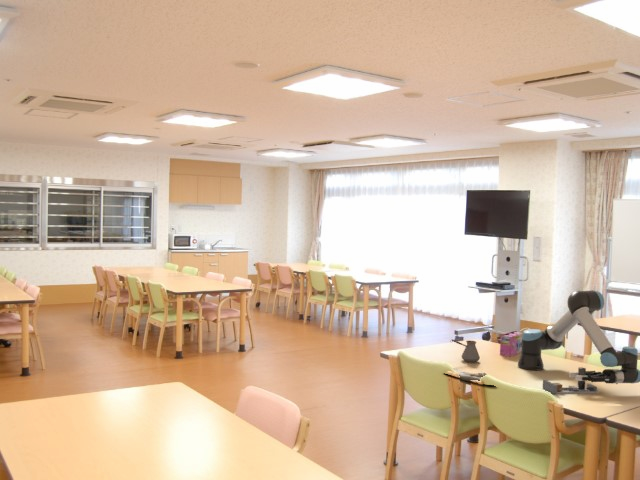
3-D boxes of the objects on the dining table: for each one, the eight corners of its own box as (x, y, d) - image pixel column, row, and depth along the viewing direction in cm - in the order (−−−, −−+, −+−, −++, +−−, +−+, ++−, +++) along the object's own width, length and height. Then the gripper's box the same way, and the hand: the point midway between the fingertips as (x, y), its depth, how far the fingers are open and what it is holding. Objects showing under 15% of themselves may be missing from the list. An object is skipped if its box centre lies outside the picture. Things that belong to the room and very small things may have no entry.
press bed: (553, 396, 310) (553, 388, 310) (542, 390, 321) (542, 382, 321) (599, 396, 314) (599, 388, 314) (586, 389, 325) (587, 382, 324)
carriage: (573, 391, 315) (574, 369, 314) (568, 389, 320) (569, 367, 319) (588, 391, 316) (590, 369, 316) (583, 388, 321) (584, 366, 320)
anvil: (553, 394, 310) (553, 385, 310) (542, 388, 321) (542, 380, 321) (556, 394, 310) (557, 385, 310) (546, 388, 321) (546, 380, 321)
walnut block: (555, 392, 314) (555, 384, 314) (551, 390, 318) (551, 382, 318) (562, 392, 314) (562, 384, 314) (558, 390, 318) (558, 382, 318)
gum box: (514, 349, 421) (515, 330, 421) (525, 351, 416) (526, 332, 416) (499, 354, 404) (500, 334, 403) (510, 356, 399) (511, 336, 398)
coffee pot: (472, 358, 389) (473, 336, 389) (483, 362, 379) (484, 339, 378) (444, 360, 381) (445, 337, 381) (455, 365, 371) (456, 341, 370)
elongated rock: (450, 374, 355) (439, 377, 349) (449, 365, 355) (439, 368, 349) (501, 384, 328) (490, 388, 322) (500, 375, 328) (490, 379, 322)
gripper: (623, 388, 311) (582, 388, 308) (601, 378, 330) (562, 378, 326) (623, 373, 311) (582, 374, 308) (602, 365, 329) (563, 365, 326)
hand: (572, 376), depth 317 cm, fingers open, 5 cm apart
